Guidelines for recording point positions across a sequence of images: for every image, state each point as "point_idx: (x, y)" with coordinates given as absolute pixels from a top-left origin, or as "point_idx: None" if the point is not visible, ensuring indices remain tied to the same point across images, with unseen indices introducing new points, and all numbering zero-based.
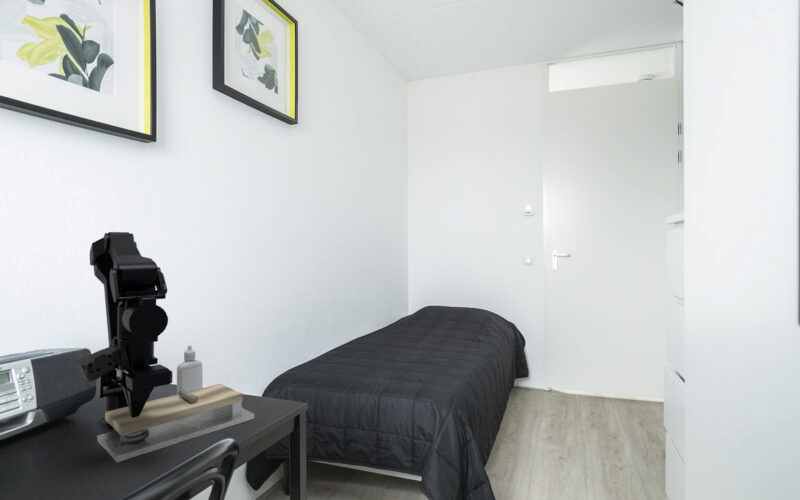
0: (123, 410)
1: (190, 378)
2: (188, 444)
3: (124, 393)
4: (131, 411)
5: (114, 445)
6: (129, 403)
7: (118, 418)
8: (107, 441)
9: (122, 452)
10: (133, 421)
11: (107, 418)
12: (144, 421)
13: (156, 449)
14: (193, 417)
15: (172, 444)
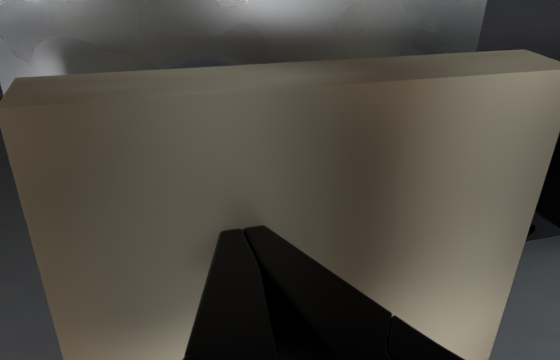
0: (473, 195)
1: None
2: (10, 351)
3: (449, 358)
4: (221, 263)
5: (223, 28)
6: (252, 315)
7: (306, 129)
8: (336, 8)
9: (38, 41)
10: (97, 224)
11: (481, 61)
12: (51, 294)
13: None
14: None
15: None
